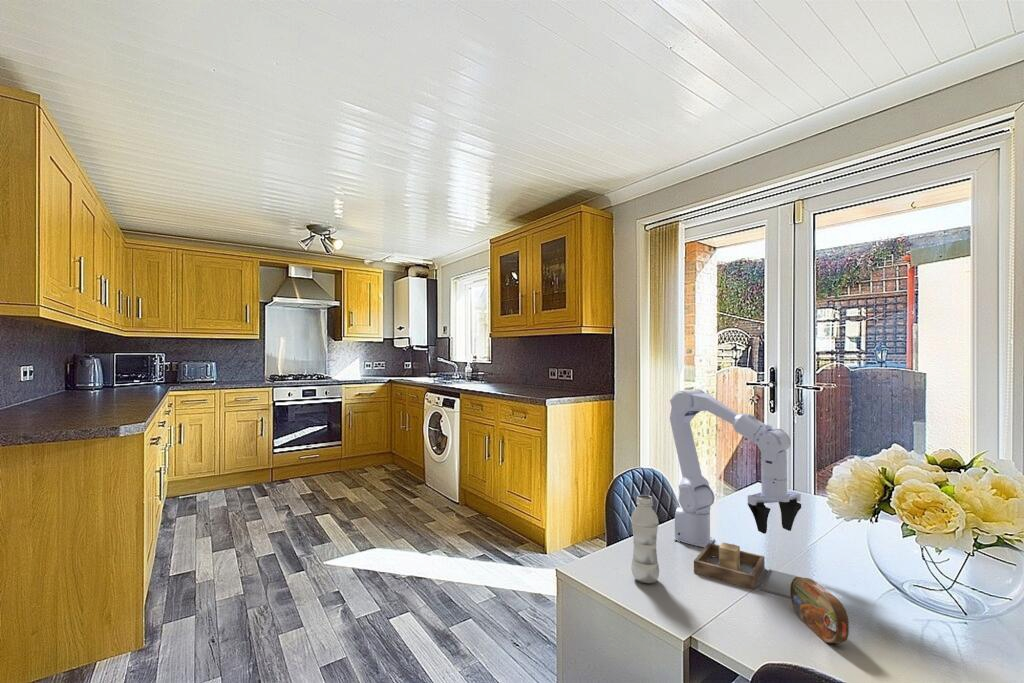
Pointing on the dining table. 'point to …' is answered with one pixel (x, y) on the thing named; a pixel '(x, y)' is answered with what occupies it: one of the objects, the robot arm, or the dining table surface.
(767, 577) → the mat
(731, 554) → the oak block
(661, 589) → the dining table surface
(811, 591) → the tin
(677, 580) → the dining table surface
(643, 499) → the plastic bottle
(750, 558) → the frame box
